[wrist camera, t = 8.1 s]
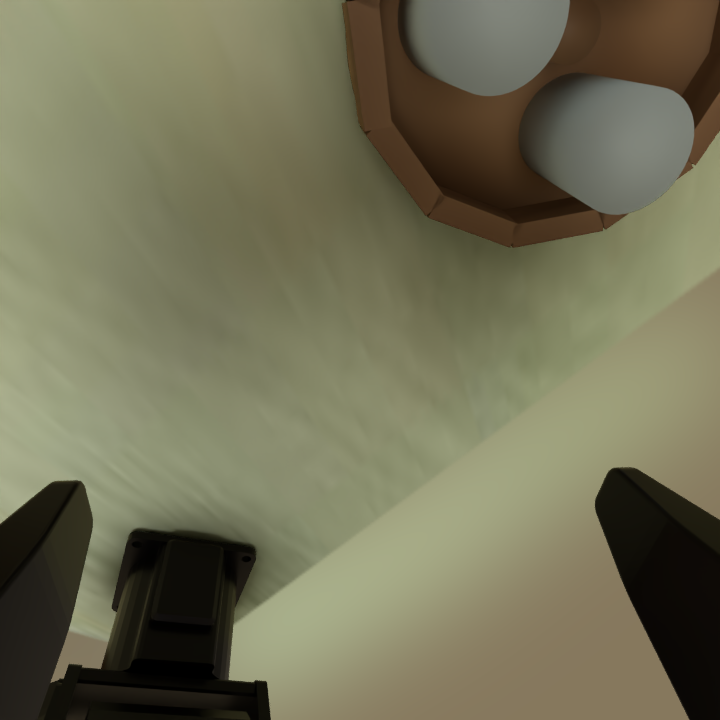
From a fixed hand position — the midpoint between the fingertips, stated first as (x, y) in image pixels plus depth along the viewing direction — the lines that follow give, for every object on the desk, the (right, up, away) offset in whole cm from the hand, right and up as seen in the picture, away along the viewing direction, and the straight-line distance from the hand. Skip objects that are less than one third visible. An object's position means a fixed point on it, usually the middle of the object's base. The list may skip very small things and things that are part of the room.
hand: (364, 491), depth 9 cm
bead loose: (+7, +10, +8) cm, 14 cm away
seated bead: (+3, +12, +6) cm, 14 cm away
